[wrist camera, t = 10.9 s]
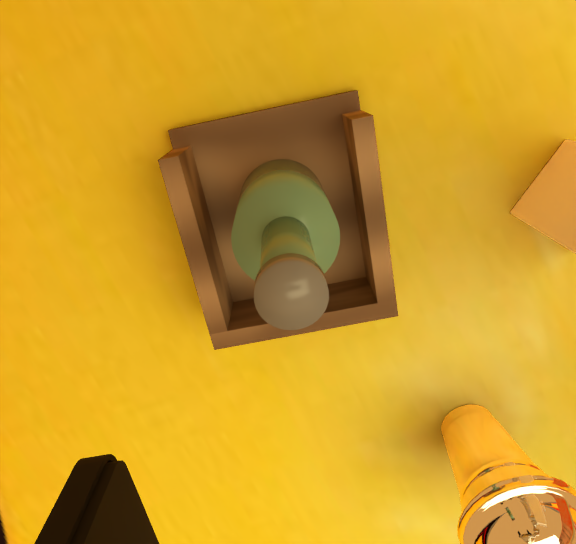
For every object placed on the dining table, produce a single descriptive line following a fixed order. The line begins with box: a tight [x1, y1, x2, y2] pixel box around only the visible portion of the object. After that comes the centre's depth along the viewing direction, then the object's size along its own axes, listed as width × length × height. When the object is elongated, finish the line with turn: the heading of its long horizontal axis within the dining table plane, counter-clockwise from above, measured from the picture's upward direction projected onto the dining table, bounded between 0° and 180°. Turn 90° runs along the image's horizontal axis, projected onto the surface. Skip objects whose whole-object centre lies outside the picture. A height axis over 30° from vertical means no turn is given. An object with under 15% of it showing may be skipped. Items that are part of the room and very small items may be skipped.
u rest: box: [158, 90, 398, 350], centre depth 32 cm, size 14×12×5 cm
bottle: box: [231, 159, 340, 330], centre depth 26 cm, size 6×6×15 cm
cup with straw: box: [441, 404, 576, 544], centre depth 32 cm, size 8×9×20 cm
